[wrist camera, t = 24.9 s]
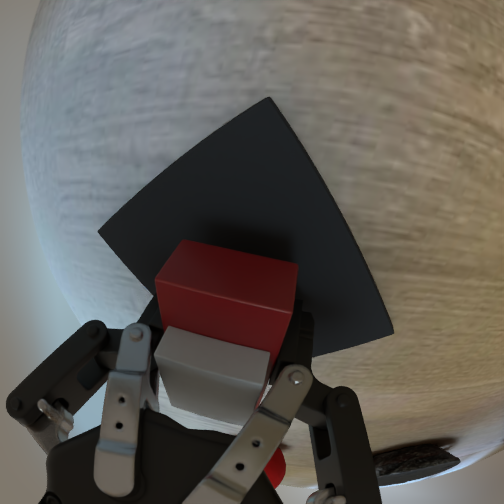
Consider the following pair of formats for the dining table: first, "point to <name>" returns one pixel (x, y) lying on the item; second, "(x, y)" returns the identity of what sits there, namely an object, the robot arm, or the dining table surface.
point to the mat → (257, 222)
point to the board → (412, 464)
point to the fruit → (276, 468)
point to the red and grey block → (221, 327)
